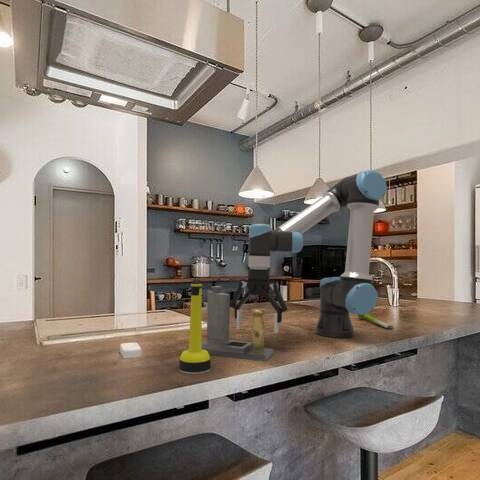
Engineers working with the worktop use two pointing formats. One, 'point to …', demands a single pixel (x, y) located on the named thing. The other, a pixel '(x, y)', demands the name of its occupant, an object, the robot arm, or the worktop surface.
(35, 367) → the worktop surface
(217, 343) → the grey socket base
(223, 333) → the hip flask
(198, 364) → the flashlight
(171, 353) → the worktop surface
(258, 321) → the pin
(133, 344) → the soap
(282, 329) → the worktop surface
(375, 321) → the leek
